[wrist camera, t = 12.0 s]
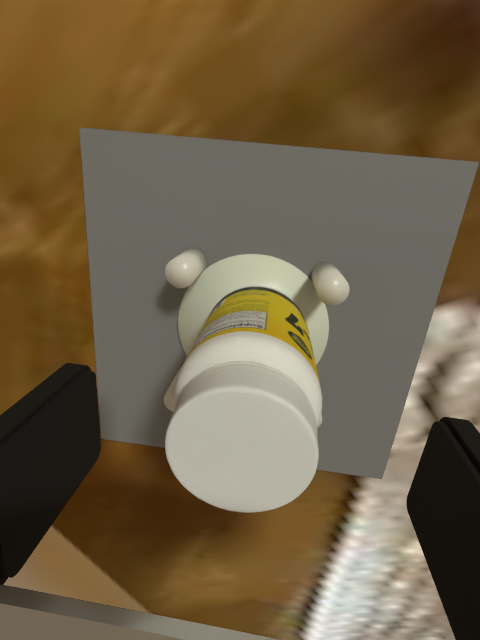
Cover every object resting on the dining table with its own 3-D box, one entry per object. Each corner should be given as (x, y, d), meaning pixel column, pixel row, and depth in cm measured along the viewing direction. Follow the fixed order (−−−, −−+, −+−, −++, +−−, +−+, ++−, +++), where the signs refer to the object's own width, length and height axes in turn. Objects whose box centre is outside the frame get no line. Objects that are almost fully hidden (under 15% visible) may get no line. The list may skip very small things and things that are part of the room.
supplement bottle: (315, 366, 17) (348, 518, 9) (222, 382, 18) (180, 533, 10) (296, 272, 16) (317, 358, 8) (196, 294, 16) (121, 392, 9)
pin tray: (463, 164, 15) (521, 157, 11) (376, 463, 20) (396, 519, 17) (93, 131, 16) (41, 116, 12) (110, 425, 21) (78, 471, 18)
